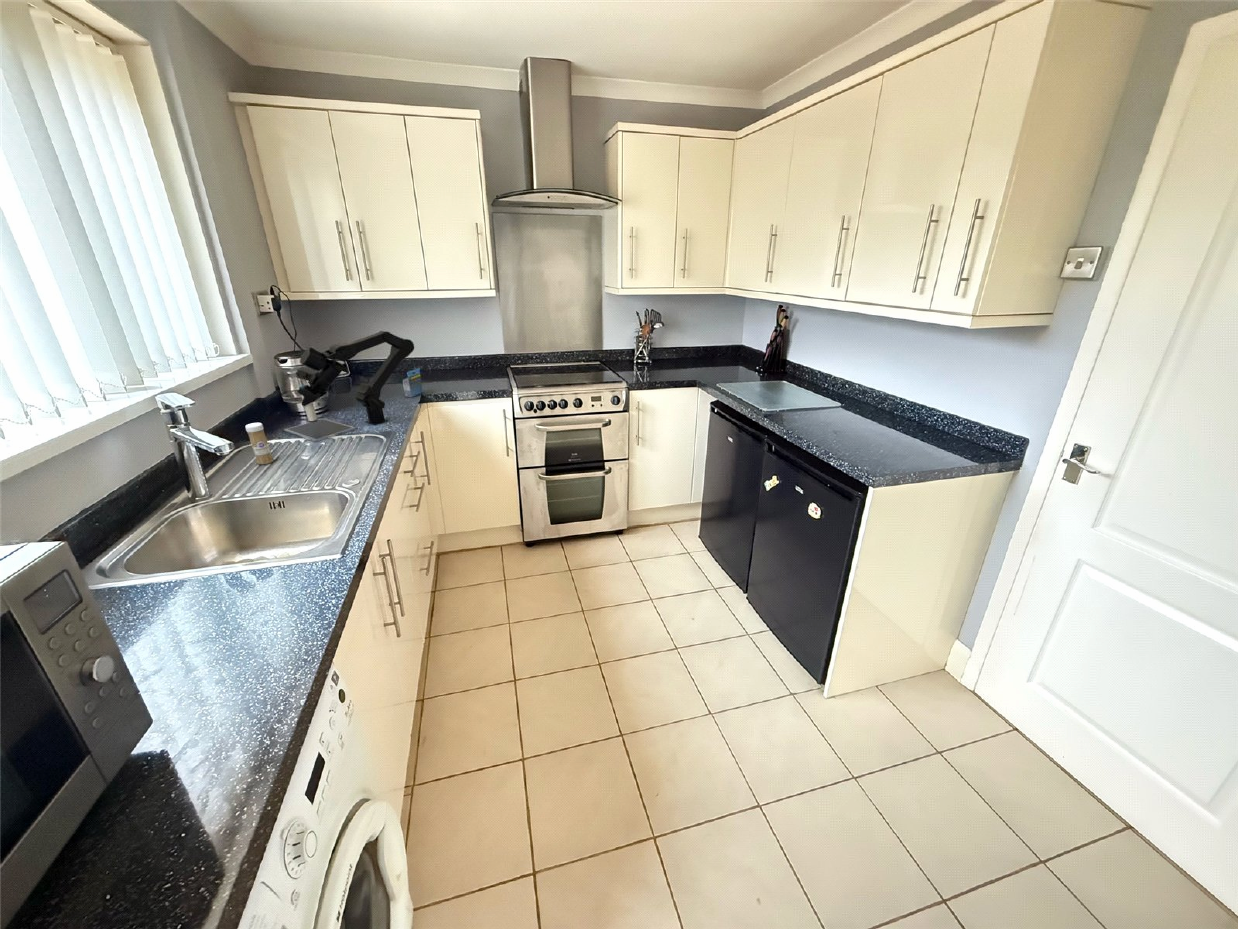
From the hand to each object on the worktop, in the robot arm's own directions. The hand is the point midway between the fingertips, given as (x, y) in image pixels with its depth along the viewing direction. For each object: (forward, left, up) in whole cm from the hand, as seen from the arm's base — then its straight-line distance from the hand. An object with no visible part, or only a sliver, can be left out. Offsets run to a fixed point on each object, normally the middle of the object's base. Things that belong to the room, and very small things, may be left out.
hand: (304, 404), depth 188 cm
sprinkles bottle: (-17, +25, -11) cm, 32 cm away
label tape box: (+8, -54, -11) cm, 56 cm away
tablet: (-2, -2, -11) cm, 11 cm away
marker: (-1, -1, -7) cm, 7 cm away
